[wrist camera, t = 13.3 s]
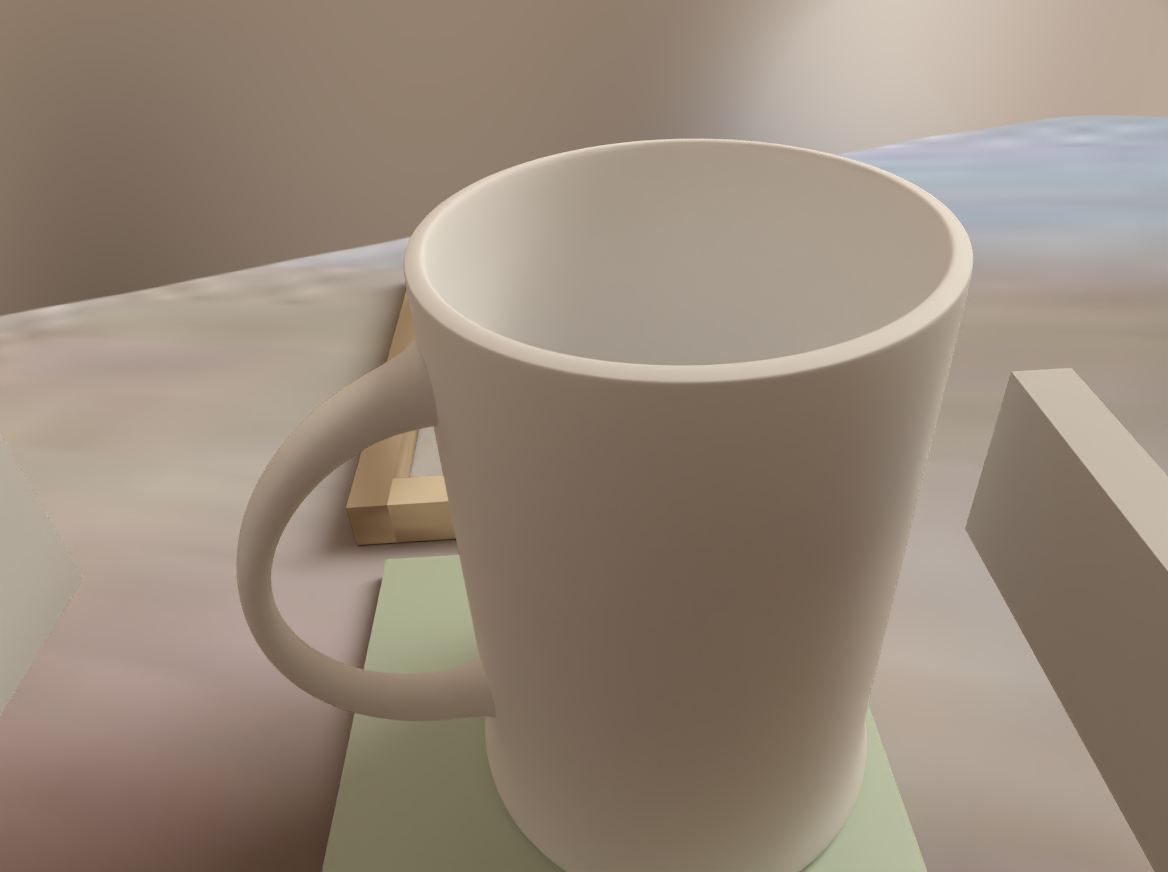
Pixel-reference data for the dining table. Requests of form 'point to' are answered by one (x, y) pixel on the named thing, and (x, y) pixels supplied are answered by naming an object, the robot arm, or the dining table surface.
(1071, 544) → the robot arm
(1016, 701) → the dining table surface
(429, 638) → the coaster
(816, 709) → the mug
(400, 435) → the pocket frame
